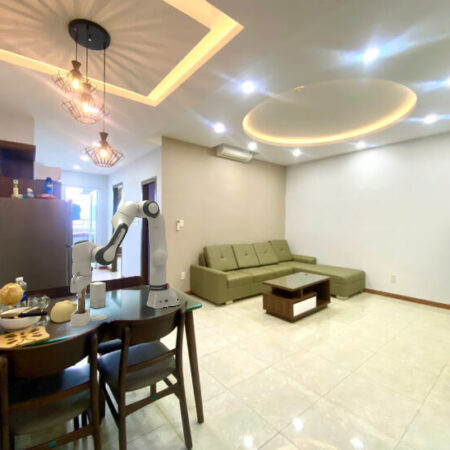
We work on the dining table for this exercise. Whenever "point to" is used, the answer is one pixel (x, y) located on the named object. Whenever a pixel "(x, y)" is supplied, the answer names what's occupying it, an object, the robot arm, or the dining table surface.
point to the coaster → (98, 317)
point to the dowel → (81, 303)
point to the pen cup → (80, 318)
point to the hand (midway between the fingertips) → (81, 296)
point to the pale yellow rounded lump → (63, 311)
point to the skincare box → (97, 295)
